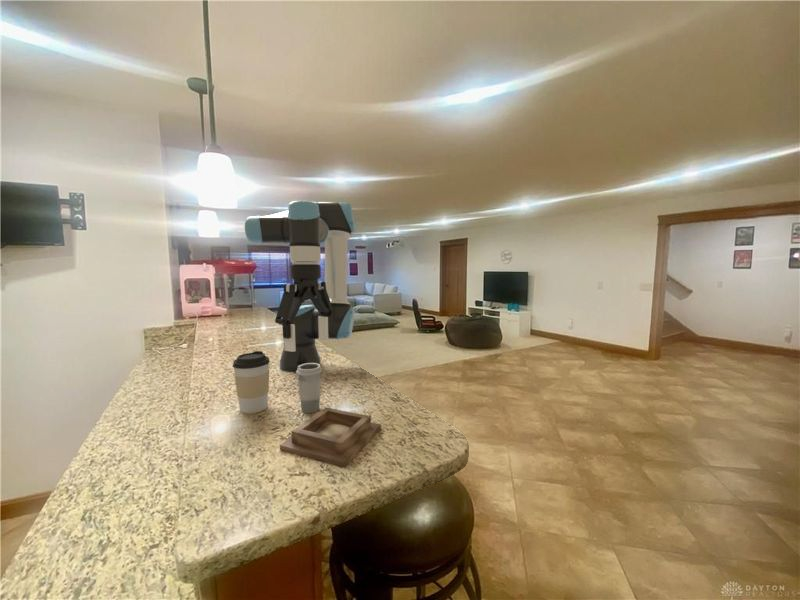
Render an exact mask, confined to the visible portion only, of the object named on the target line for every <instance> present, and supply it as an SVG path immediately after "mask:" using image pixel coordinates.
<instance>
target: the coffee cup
mask: <svg viewBox="0 0 800 600" xmlns="http://www.w3.org/2000/svg"><path fill="white" fill-rule="evenodd" d="M270 363H271V361H270V358H269V356H266V355H265V353H264V352H263V351H260V350H256V351H252V352H247V353H241V354H239V355H238V356H236V359H234V360H233V365H232V367H233V370H234V374H233V375H234V382H235V387H236V388H235V390H236V394H237V397H238V399H237V400H238V405H239V411H240V412H241V413H243V414H256V413H259V412H263V411H264V410H266V409H267V408H268V402H269V401H268V400H269V399H268V398H269V390H270V389H269V387H270V368H269V367H270Z"/></svg>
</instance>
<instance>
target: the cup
mask: <svg viewBox="0 0 800 600" xmlns="http://www.w3.org/2000/svg"><path fill="white" fill-rule="evenodd" d="M322 372H323V369H322V367H321V363H320V364H317V363H306V364H302V365H299V366H298V369H297V371H295V373H296V374H297V375H298V378H297V381H298V392H299V400H300V406H301V407H300V408H301V409H300V410H301V412H302V413H303V414H313V413H316V412H319V410H320V404H321V403H320V401H321V400H320V399H321V385H322V384H321V383H322V382H321V381H322V380H321V378H322V376H321V373H322Z"/></svg>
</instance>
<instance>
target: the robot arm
mask: <svg viewBox="0 0 800 600" xmlns="http://www.w3.org/2000/svg"><path fill="white" fill-rule="evenodd" d="M355 224H356V223H355V217H354V212H353V208H352V205H351V204H350V203H349V202H343V201H310V200H293V201H291V202H289V204H288V209H287V210H285V211H282V212H278V213H274V214H273V213H272V214H269V215H263V216H262V215H261V216H260V215H256V216H248V217H247V218H246V219H245V222H244V233H245V236H246V239H247V240H248V242H250V243H253V244H289V257H290V259H289V261H290V262H291V263H292V264H290V266H289V267H290V269H289V271H290V278H291V280H293V283H284V284H283V294H282V296H281V300H280V303H279V306H278V310H277V312H276V316H275V320H274V322H275V324H278V325H281V326H282V337H283V350H282V353H281V356H280V359H279V368H280V370H282V371H284V372H285V371H287V372H296V371H297V369H298V366H299V365H302V364H306V363H317V364H320V365H321V356H320V355H319V351H318V348H317V345H316V340H324V341H329V340H339V339H340V340H341V339H348V338H349V337H350V336H351V335H352V331H353V329H354V323H355V322H354V321H355V309H354V308H353V307H351V303H350V302H349V300H348V297H347V294H348V292H347V291H348V290H347V289H348V284H347V283H348V241H349V240H350V238H351V237H352V233H355V232H356V225H355ZM323 243H324V281H321V280H320V281H318V280H319V279H321V277H322V269H321V268H322V266H321V265H320V264H319V263H321V262H322V261H321V256H322V255H321V244H323ZM309 300H310V301H311V302H312V304H304V305H302V304H303V303H304V302H306V301H309Z"/></svg>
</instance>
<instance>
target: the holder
mask: <svg viewBox="0 0 800 600" xmlns="http://www.w3.org/2000/svg"><path fill="white" fill-rule="evenodd" d="M371 418H372V417H371V416H370V415H367V414H362V413H356V412H352V411H346V410H341V409H336V408H330V407H324V408H323V409H321V410H320V411H318V412H317V413H316V414H314V415H313V416H312V417H310V418H309V419H307V420H306V421H304V422H302V423H301V424H299V426H296V428H294V429H293V430H291V436H290V437H289V438H288V439H286V440H285V441H283V442H282V443H280V444H279V450H280V451H281V450H282V451H285V452H288V453H291V454H295V455H299V456H302V457H307V458H310V459H314V460H316V461H321V462H324V463H328V464H332V465H336V466H339V467H341V468H346V467H347V465H349V463H350V462H352V460H353V459H354V458H355V457H356V456H357V455H358V454H359V453H360V452H361V451H362V449H363V448H364V447H365V446H366V445H367V444H368V443H369V442H370V441H371V440H372V439H373V437H374V436H375V435H377V433H378V432H379V431H380V430H381V429H382V425H381V423H376V422H372V419H371Z"/></svg>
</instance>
